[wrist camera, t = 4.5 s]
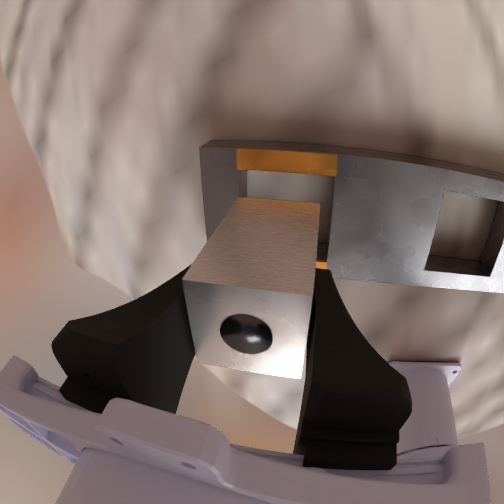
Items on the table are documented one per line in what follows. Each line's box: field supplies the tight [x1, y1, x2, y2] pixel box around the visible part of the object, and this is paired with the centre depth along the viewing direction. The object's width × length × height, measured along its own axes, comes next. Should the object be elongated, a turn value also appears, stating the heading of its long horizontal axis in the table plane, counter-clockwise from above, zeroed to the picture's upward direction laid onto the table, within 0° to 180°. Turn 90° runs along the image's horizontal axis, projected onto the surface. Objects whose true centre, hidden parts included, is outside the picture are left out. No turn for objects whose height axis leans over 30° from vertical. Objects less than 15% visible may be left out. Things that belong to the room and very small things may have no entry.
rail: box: [199, 140, 504, 293], centre depth 18 cm, size 8×22×2 cm, turn 92°
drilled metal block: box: [182, 197, 320, 379], centre depth 13 cm, size 4×4×7 cm
